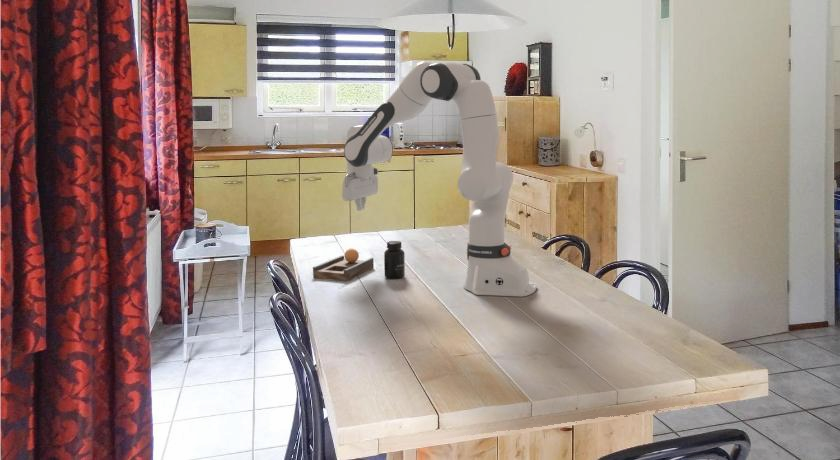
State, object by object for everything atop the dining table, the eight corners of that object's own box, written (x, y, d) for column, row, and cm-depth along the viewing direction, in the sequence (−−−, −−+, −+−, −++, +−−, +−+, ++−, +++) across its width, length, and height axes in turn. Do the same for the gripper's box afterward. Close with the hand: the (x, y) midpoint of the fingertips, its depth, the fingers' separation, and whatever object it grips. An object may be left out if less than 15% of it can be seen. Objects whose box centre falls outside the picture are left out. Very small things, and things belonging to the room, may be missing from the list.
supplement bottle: (402, 279, 222) (401, 244, 219) (382, 279, 223) (381, 243, 221) (406, 274, 228) (406, 240, 226) (387, 274, 230) (386, 239, 227)
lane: (373, 268, 238) (373, 258, 238) (346, 281, 221) (346, 270, 221) (341, 265, 243) (341, 255, 243) (313, 277, 226) (312, 267, 226)
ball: (361, 261, 238) (361, 247, 237) (354, 264, 234) (354, 250, 233) (349, 260, 240) (348, 246, 239) (342, 263, 236) (341, 249, 235)
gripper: (353, 174, 228) (354, 214, 230) (380, 169, 246) (381, 206, 249) (336, 174, 230) (338, 213, 233) (365, 168, 249) (366, 205, 251)
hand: (360, 210), depth 241 cm, fingers closed
